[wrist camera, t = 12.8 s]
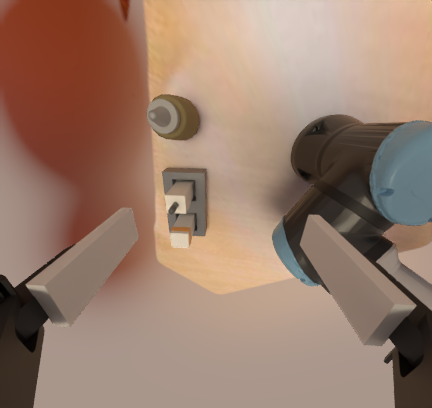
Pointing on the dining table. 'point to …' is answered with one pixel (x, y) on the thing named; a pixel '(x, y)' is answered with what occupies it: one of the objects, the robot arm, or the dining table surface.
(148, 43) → the dining table surface
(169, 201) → the twin plug
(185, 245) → the plug
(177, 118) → the squeeze bottle
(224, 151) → the dining table surface
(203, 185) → the grey flat block
